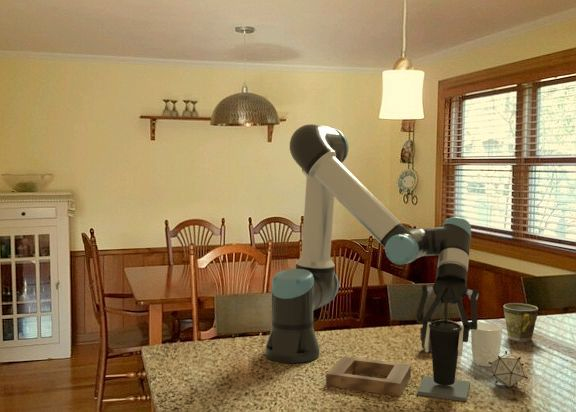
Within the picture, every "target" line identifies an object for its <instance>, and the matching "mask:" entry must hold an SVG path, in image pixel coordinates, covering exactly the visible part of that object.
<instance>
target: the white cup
mask: <svg viewBox="0 0 576 412" xmlns="http://www.w3.org/2000/svg"><path fill="white" fill-rule="evenodd" d="M502 328H503V327H502V326H500V325H499V324H495V323H490V322H488V323H487V322H477V329H476V330H474V329H471V330H470V334H471V335H470V336H471V337H470V339H471V341H470V342H471V343H470V344H471V354H472V357H471V359H472V363H474V364H475V365H476V366H481V367H487V368H488V367H489V368H490V367H491V368H492V365H491V364H489V363H488V362H491V363H492V362H494V361H495V360H497V359H498V356H500V353H501V347H502V346H501V343H502V331H503V329H502Z"/></svg>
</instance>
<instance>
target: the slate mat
mask: <svg viewBox="0 0 576 412" xmlns="http://www.w3.org/2000/svg"><path fill="white" fill-rule="evenodd" d="M470 386H471V381H468V380H460V379H455V382H454V384H452V385H440V384H437V383H435V382H434V378H433V376H431V375H430V376H428V375H424V376H423V379H422V380H421V383H420V385H419V387H418V389H417V391H416V392H417V393H416V395H417V396H425V397H432V398H438V399H439V398H440V399H447V400H453V401H460V402H461V401H462V402H467V398H468V396H469V392H470V391H469V390H470Z"/></svg>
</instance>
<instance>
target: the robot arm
mask: <svg viewBox="0 0 576 412" xmlns="http://www.w3.org/2000/svg"><path fill="white" fill-rule="evenodd" d="M348 142H349V141H348V139H347V137H346V136H345V135H344V133H343V132H342V131H340V130H339V129H337V128H334V127H333V126H329V125H317V124H305V125H304V124H303V125H302V126H300V127H298V128H297V129H295V131H294V132H293V133H292V135H291V137H290V141H289V152H290V154H291V158H292V159H293V160H294V162H295V163H296V164H297V165H298V166H299V167H300V169H301V172H302V173H303V174H304V176H305V177H306V179H305V180H306V183H305V198H304V211H303V228H302V229H303V230H302V243H301V256H300V258H298V259H297V260H296V262H295V268H289V269H285V270H281V271H279V272H276V273H275V274H274V275H273V276H272V279H271V280H272V281H271V289H270V291H271V329H270V333H269V335H268V338H267V341H266V346H265V356H266V357H267V358H268V359H269V360H272V361H274V362H278V363H284V364H285V363H286V364H301V363H308V362H312V361H315V360H317V359H318V358H319V356H320V344H319V342H318V340H317V336H316V333H315V329H314V311H315V310H318V309H319V308H322V307H325V306H327V305H328V304H330V302H331V301H333V300H334V299H335V297H336V296H337V294H338V292H339V285H340V283H339V282H340V281H339V278H338V276H337V274H336V273H335V265H336V264H335V263H334V262H333V261H332V259H331V250H332V236H333V235H332V234H333V222H334V209H335V207H334V205H335V199H336V200H337V201H338V202H339V203H340V204H341V205H342V206H343V207H344V208H345V209H346V210H347V211H348V212H349V213H350V214H351V215H352V216H353V217H354V218H355V219H356V220H357V222H359V223H360V225H362V226H363V227H364V228H365V230H367V231H368V233H369V234H370V235H371V236H372V237H373V238H375V240H376V241H378V243H380V245H381V246H382V247H383V248H384V252H385V255H386V257H387V259H388V260H389V261H390V262H391V263H392V264H395V265H407V264H410V263H412V262H414V261H416V260H417V259H419V258H421V257H429V256H430V257H431V256H438V259H437V261H438V262H437V269H436V276H435V282H434V283H433V285H432V286H431V285H430V286H427V285H426V284H424V285H422V286H421V289H422V290H421V291H422V294H421V298H420V302H419V305H418V308H417V312H416V315H415V318H416V323H417V324H418V325H422V327H421V328H422V336H423V338H425V345H424V347H425V350H424V352H425V353H430V351H429V346H430V339H431V334H430V328H429V324H431V323H432V322H433V319H434V318H435V316H436V315H437V313H438V311H439V309H440V308H441V307H442V306H443V304H445V299H448V304H452V305H455V306H456V309H457V311H458V314H459V317H460V320H461V324H462V325H461V324H460V327H462V330H461V331H460V334H459V344H458V357H463V348H464V343H468V341H469V337H470V336H469V335H470V332H471V329H474V330H476V329H477V323H478V314H477V313H478V312H477V310H478V309H477V302H478V299H479V290H478V289H476V288H474V289H473V290H472V289H469V288H468V286H467V283H468V281H467V280H468V270H469V262H470V252H471V251H470V248H471V241H472V225H471V223H470V222H469V221H468V220H466V219H465V218H462V217H459V216H451V217H449V218H446V219H445V220H444V221H443V224H442V226H437V227H430V228H429V227H425V228H423V227H422V228H407V227H406V226H405V225H403V224H402V222H401V221H400V220H399V219H398V218H397V217H396V216H395V215H394V214H393V213H392V212H391V211H390V210H389V208H387V207H386V206H385V205H384V204H383V203H382V202H381V201H380V200H379V199H378V198H377V197H376V196H375V195H374V194H373V193H372V192H371V191H370V190H369V189H368V188H367V187H366V186H365V185H364V184H363V183H362V182H361V181H359V179H358V178H357V177H356V176H355V175H354V174H353V173H352V172H351V171H350V170H349V169H348V168H347V167H346V166H345V165H344V164H343V163H344V162H345V160H346V158H347V157H348V155H349V154H348V153H349V143H348ZM432 293H434V294H435V298H434V300H433V302H432V304H431V305H430V307H429V309H428V311H427V312H426V310H427V306H428V303H429V297H431V295H432ZM466 295H467V296H468V299H469V300H470V311H471V312H470V313H471V321H469V319H468V316H467V312H466V311H465V307H464V305H463V301H462V300H463V299H464V297H466ZM425 313H426V314H425Z"/></svg>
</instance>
